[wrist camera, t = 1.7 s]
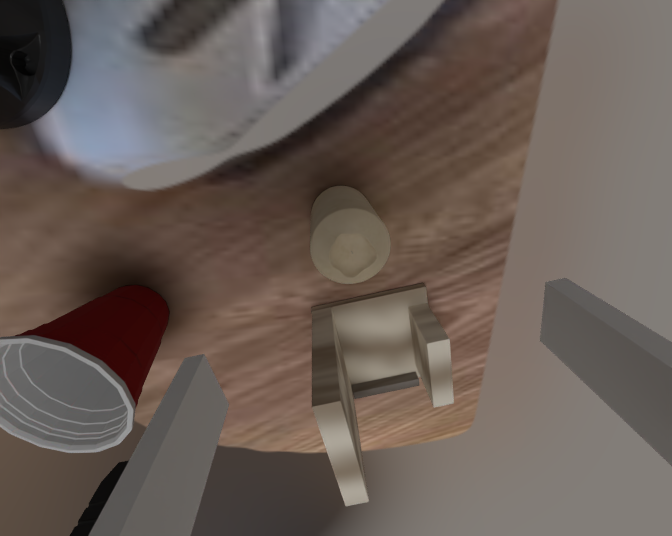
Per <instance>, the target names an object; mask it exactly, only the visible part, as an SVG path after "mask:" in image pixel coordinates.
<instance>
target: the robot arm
mask: <svg viewBox="0 0 672 536" xmlns="http://www.w3.org/2000/svg"><path fill="white" fill-rule="evenodd" d="M69 66H70V35H69V28H68V23H67V18H66V14H65V10H64V7H63V4H62V0H0V129H9V128H15V127H19V126H22V125H25V124H28V123H30V122H32V121H34V120H36V119H38V118H39V117H41V116H42V115H44V114H45V113H46V112H47V111H48V110H49V109H50V108H51V107H52V106H53V105H54V103H55V102H56V101H57V99H58V98H59V96H60V94H61V92H62V90H63V88H64V85H65V83H66V80H67V76H68V71H69ZM540 341H541V342H542V343H543V344H544V345H546V347H547V348H548V349H549V350H550V351H552V352H553V353H554V354H555V355H556V356H557V357H558V358H559V359H560V360H561V361H562V362H563V363H564V364H565V365H566V366H567V367H569V368H570V370H571V371H573V372H574V373H575V374H576V375H577V376H578V377H579V378H580V379H581V380H582V381H583V382H584V383H585V384H586V385H587V386H588V387H590V389H591V390H593V392H595V393H596V394H597V395H598V396H599V397H600V398H601V399H602V400H603V401H604V402H605V403H606V404H607V405H608V406H609V407H610V408H611V409H612V410H614V412H616V413H617V414H618V415H619V416H620V417H621V418H622V419H623V420H624V421H625V422H626V423H627V424H628V425H629V426H630V427H631V428H632V429H633V430H634V431H635V432H637V433H638V434H639V435H640V436H641V437H642V438H643V439H644V440H645V441H646V442H647V443H648V444H649V445H650V446H651V447H652V448H653V449H654V450H655V451H656V452H658V453H659V454H660V455H661V456H662V457H663V458H664V459H665V460H666V461H667V462H668V463H669V464H670V465H671V466H672V342H670V341H669V340H667V339H665V338H663V337H662V336H660V335H659V334H657V333H656V332H654V331H652V330H651V329H649V328H647V327H646V326H644V325H643V324H641V323H639V322H638V321H636V320H634V319H633V318H631V317H629V316H628V315H626V314H624V313H623V312H621V311H620V310H618V309H616V308H614V307H613V306H611V305H610V304H608V303H606V302H605V301H603V300H601V299H600V298H598V297H596V296H595V295H593V294H592V293H590V292H588V291H587V290H585V289H583V288H582V287H580V286H578V285H577V284H575V283H573V282H572V281H570V280H569V279H567V278H563V279H559V280H554V281H549V282H546V283H545V293H544V304H543V314H542V324H541V335H540ZM228 407H229V403H228V401H227V399H226V397H225V395H224V393H223V391H222V389H221V387H220V385H219V383H218V381H217V379H216V377H215V375H214V373H213V371H212V369H211V367H210V365H209V363H208V361H207V359H206V357H205V355H204V354H202V355H197V356H193V357H188V358H185V359H184V361H183V362H182V364H181V366H180V368H179V370H178V372H177V374H176V375H175V377H174V379H173V381H172V383H171V385H170V386H169V388H168V390H167V392H166V394H165V396H164V397H163V399H162V401H161V403H160V405H159V407H158V409H157V410H156V412H155V414H154V416H153V418H152V420H151V421H150V423H149V425H148V427H147V429H146V431H145V433H144V434H143V437H142V438H141V440H140V442H139V443H138V446H137V447H136V449H135V451H134V453H133V455H132V456H131V459H130V460H129V461H125V462H119V463H118V464H117V465H116V466H115V467H114V468H113V470H112V471H111V472H110V473H109V474H108V475H107V476H106V477H105V478H104V480H103V481H102V482H101V483H100V485H99V487H98V489H97V490H96V492H95V494H94V495H93V497H92V499H91V501H90V502H89V507H88V508H86V509H85V511H84V512H83V514H82V516H81V518H80V519H79V521H78V526H76V527H75V528H74V529H73V531H72V533H71V534H70V536H190V535H191V531H192V528H193V525H194V521H195V518H196V515H197V511H198V508H199V505H200V501H201V498H202V494H203V491H204V488H205V484H206V481H207V477H208V474H209V470H210V467H211V464H212V461H213V457H214V454H215V451H216V447H217V444H218V440H219V437H220V434H221V430H222V427H223V424H224V420H225V417H226V413H227V410H228Z"/></svg>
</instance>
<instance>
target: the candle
mask: <svg viewBox="0 0 672 536" xmlns="http://www.w3.org/2000/svg"><path fill="white" fill-rule="evenodd" d="M390 248H391V241H390V235H389V232H388V230H387V228H386V226H385V224H384V223H383V221H382V220H381V219H380V217H379V216H378V214H377V213H376V212H375V210H374V209H373V207H372V206H371V205H370V203H369V202H368V200H367V199H366V198H365V197H364V196H363V194H361V193H360V192H359V191H358V190H356V189H354V188H352V187H348V186H334V187H331V188H329V189H327V190H325V191H323V192H322V193H321V194H320V195H319V196H318V197H317V198H316V200H315V202H314V204H313V206H312V210H311V226H310V253H311V258H312V260H313V263H314V265H315V266H316V268H317V269H318V270H319V272H320V273H321V274H322V275H324V276H325V277H326V278H328V279H330V280H332V281H335V282H338V283H343V284H354V283H359V282H363V281H365V280H367V279H369V278H371V277H373V276H374V275H375V274H377V273H378V272H379V271H380V270H381V269H382V267H383V266H384V265H385V263H386V261H387V259H388V257H389V253H390Z"/></svg>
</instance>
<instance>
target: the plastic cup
mask: <svg viewBox="0 0 672 536" xmlns="http://www.w3.org/2000/svg"><path fill="white" fill-rule="evenodd" d="M168 317H169V310H168V307H167V304H166V302H165V301H164V299H163V298H162V297H161V296H160V295H159V294H158V293H156V292H155V291H153V290H151V289H149V288H147V287H143V286H139V285H129V286H123V287H119V288H117V289H115V290H114V291H112V292H110V293H108V294H106V295H104V296H102V297H98V298H96V299H94V300H92V301H90V302H89V303H87V304H85V305H83V306H81V307H79V308H77V309H75V310H73V311H71V312H69V313H67V314H65V315H63V316H61V317H59V318H57V319H55V320H53V321H52V322H50V323H48V324H43V325H41V326H39V327H37V328H35V329H33V330H28V331H26V332H24V333H22V334H20V335H15V336H10V337H0V427H1V428H3V429H4V430H5V431H7V432H8V433H10V434H12V435H14V436H16V437H18V438H21V439H23V440H25V441H28V442H30V443H33V444H35V445H37V446H39V447H43V448H49V449H53V450H58V451H63V452H68V453H85V452H99V451H102V450H105V449H107V448H110V447H113V446H115V445H118V444H120V443H121V441H122V440H123V439H124V438H125V437H126V436H127V434H129V432H130V431H131V430H132V428H133V425H134V417H135V408H136V406H137V404H138V399H139V397H140V394H141V392H142V387H143V385H144V382H145V380H146V377H147V375H148V373H149V370H150V368H151V365H152V363H153V361H154V358H155V356H156V354H157V351H158V349H159V346H160V344H161V339H162V336H163V334H164V332H165V329H166V327H167V324H168Z"/></svg>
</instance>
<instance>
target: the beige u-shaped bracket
mask: <svg viewBox="0 0 672 536" xmlns="http://www.w3.org/2000/svg"><path fill="white" fill-rule="evenodd" d="M311 313H312V409H313V412H314V415H315V418H316V421H317V424H318V426H319V429H320V432H321V435H322V438H323V441H324V444H325V447H326V450H327V453H328V456H329V459H330V462H331V464H332V467H333V470H334V473H335V476H336V479H337V482H338V485H339V488H340V491H341V494H342V497H343V500H344V502H345V505H346V506H349V505H355V504H359V503H365V502H369V498H368V491H367V485H366V478H365V471H364V465H363V458H362V451H361V444H360V438H359V431H358V424H357V417H356V411H355V404H354V399H357V398H362V397H367V396H371V395H376V394H381V393H386V392H390V391H395V390H400V389H405V388H410V387H414V386H419V379H418V377H421V379H422V381H423V384H424V386H425V388H426V391H427V393H428V395H429V398H430V400H431V402H432V405H433V407H439V406H443V405H448V404H453V403H454V398H453V383H452V368H451V353H450V339H449V337H448V336H447V334H446V333H445V331H444V329H443V328H442V326H441V325H440V323H439V322H438V320H437V318H436V317H435V315H434V314H433V312H432V311H431V309H430V307H429V306H428V301H427V291H426V286H425V284H424V283H421V284H416V285H412V286H407V287H402V288H398V289H393V290H389V291H384V292H379V293H375V294H370V295H366V296H361V297H356V298H352V299H347V300H343V301H338V302H333V303H329V304H324V305H320V306H315V307H311ZM353 395H354V397H353Z"/></svg>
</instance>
